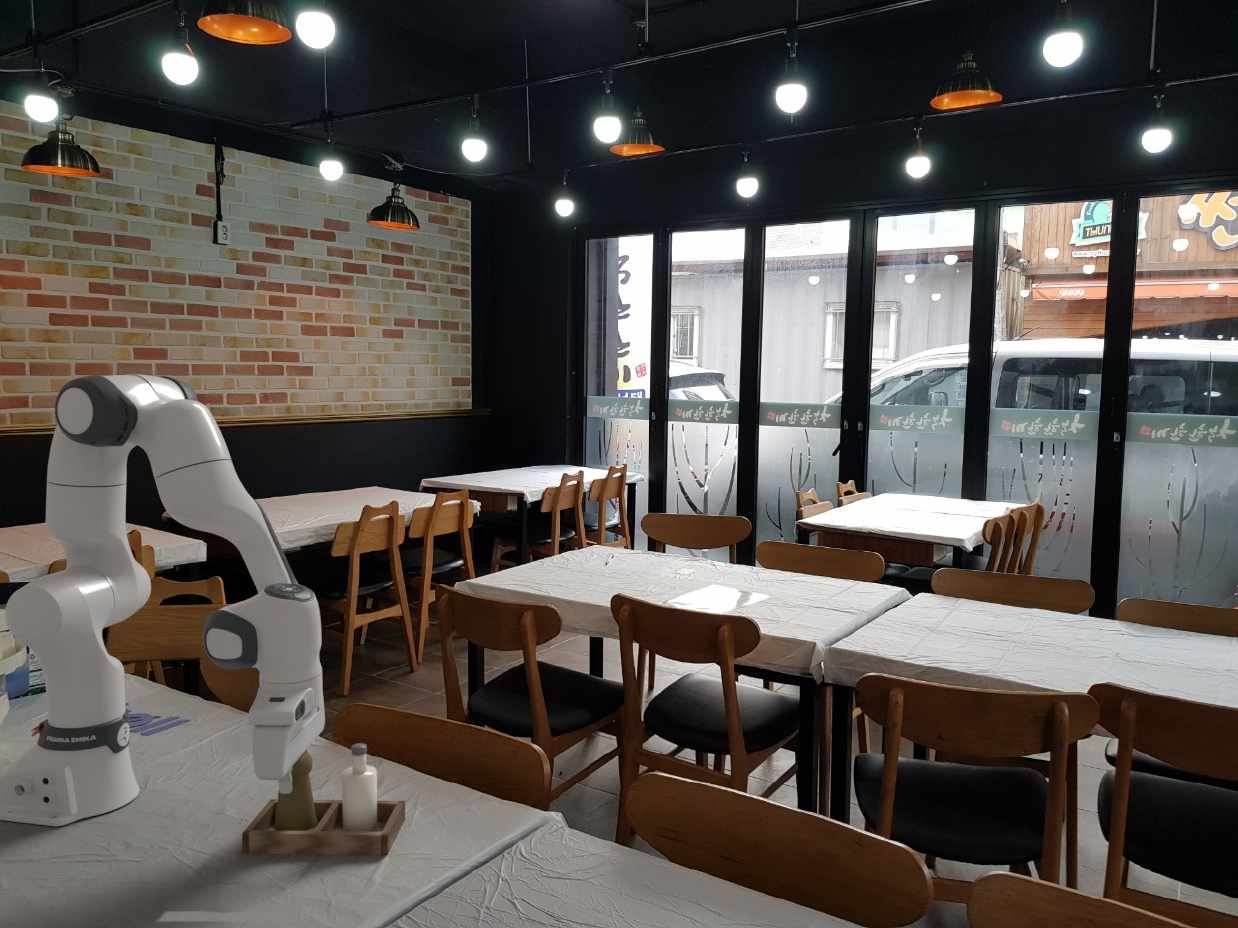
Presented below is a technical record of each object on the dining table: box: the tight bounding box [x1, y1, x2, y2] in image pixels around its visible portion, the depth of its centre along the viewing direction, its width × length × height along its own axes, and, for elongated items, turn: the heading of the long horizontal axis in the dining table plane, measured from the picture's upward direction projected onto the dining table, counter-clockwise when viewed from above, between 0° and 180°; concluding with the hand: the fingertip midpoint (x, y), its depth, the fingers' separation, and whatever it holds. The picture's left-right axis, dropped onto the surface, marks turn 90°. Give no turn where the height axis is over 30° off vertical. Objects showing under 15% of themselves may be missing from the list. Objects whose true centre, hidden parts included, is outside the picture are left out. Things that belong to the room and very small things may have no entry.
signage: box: [125, 702, 191, 737], centre depth 190 cm, size 28×1×10 cm
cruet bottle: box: [341, 742, 378, 832], centre depth 138 cm, size 5×5×14 cm
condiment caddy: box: [241, 798, 406, 856], centre depth 139 cm, size 21×11×4 cm, turn 90°
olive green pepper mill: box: [275, 751, 317, 831], centre depth 138 cm, size 6×6×11 cm
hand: (293, 783), depth 138 cm, fingers closed on olive green pepper mill, 4 cm apart
